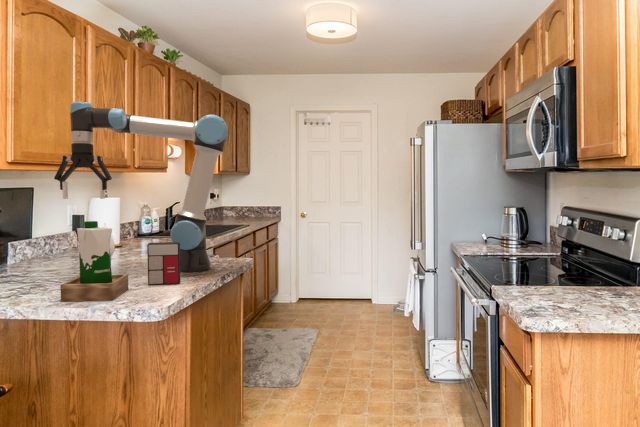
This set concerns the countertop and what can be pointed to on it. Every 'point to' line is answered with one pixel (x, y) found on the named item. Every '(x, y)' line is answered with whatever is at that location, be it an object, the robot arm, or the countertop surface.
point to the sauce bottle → (112, 244)
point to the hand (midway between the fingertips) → (84, 198)
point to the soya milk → (94, 253)
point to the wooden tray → (94, 289)
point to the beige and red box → (163, 263)
